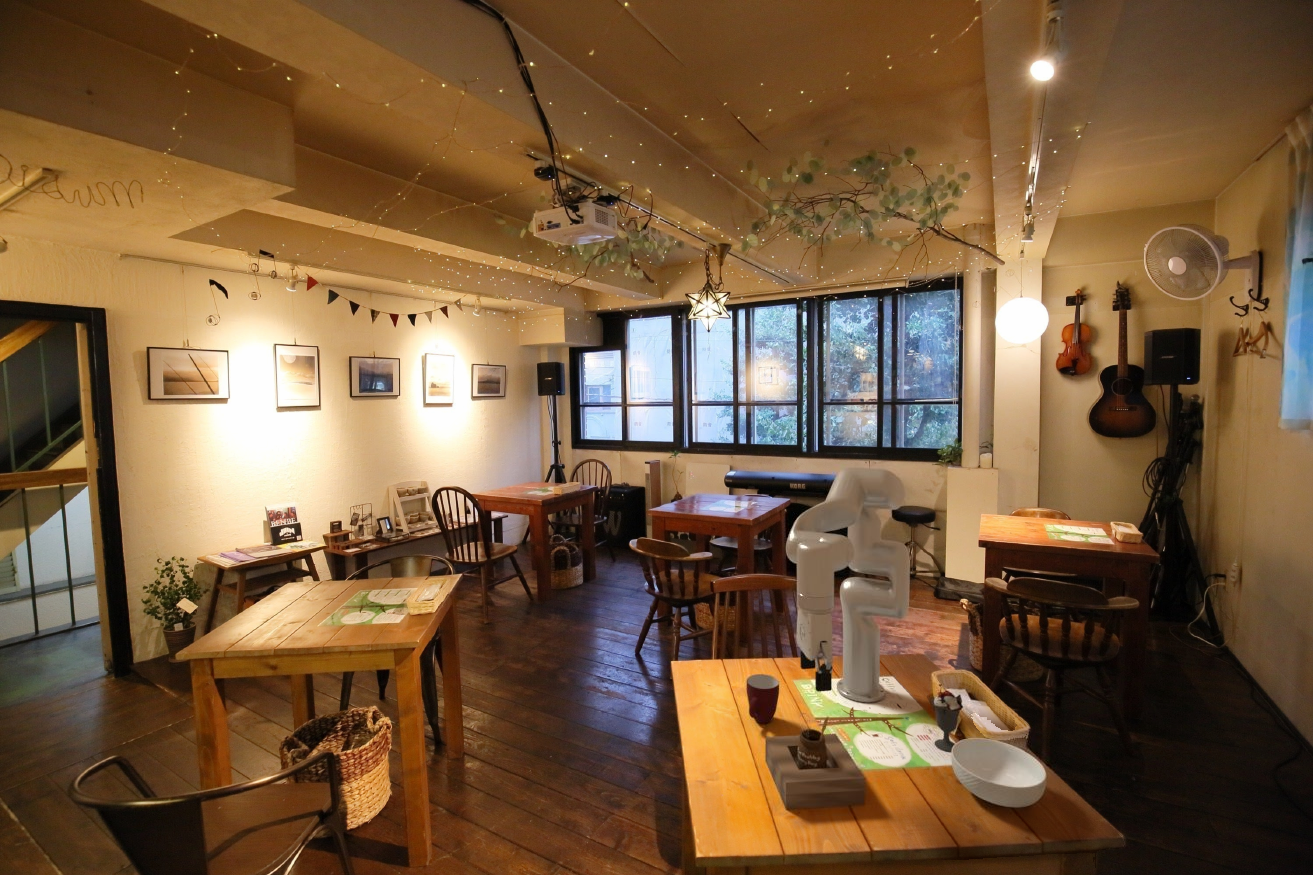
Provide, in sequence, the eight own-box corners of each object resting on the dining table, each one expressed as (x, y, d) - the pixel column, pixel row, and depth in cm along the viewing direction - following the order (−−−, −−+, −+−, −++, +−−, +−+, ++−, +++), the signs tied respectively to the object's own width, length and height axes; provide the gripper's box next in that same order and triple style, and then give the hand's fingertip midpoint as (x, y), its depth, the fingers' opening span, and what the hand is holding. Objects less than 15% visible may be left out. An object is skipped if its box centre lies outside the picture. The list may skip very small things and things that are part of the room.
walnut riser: (765, 760, 135) (765, 737, 134) (835, 757, 136) (835, 733, 135) (785, 809, 119) (785, 782, 118) (864, 804, 120) (865, 777, 120)
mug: (770, 736, 144) (770, 696, 144) (738, 728, 148) (738, 689, 147) (782, 715, 154) (783, 677, 153) (752, 708, 157) (752, 671, 157)
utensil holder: (805, 755, 131) (805, 702, 131) (832, 766, 127) (833, 711, 127) (792, 768, 127) (792, 713, 126) (820, 780, 123) (821, 723, 122)
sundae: (926, 746, 139) (927, 683, 139) (936, 734, 144) (937, 673, 143) (956, 757, 135) (958, 692, 134) (965, 745, 140) (967, 682, 139)
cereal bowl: (995, 829, 113) (996, 793, 112) (932, 776, 129) (933, 744, 128) (1066, 812, 117) (1068, 777, 117) (997, 762, 133) (998, 731, 133)
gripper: (786, 587, 135) (786, 661, 136) (811, 616, 118) (811, 700, 119) (818, 586, 135) (818, 659, 137) (848, 614, 118) (848, 698, 120)
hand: (815, 678), depth 128 cm, fingers open, 9 cm apart
